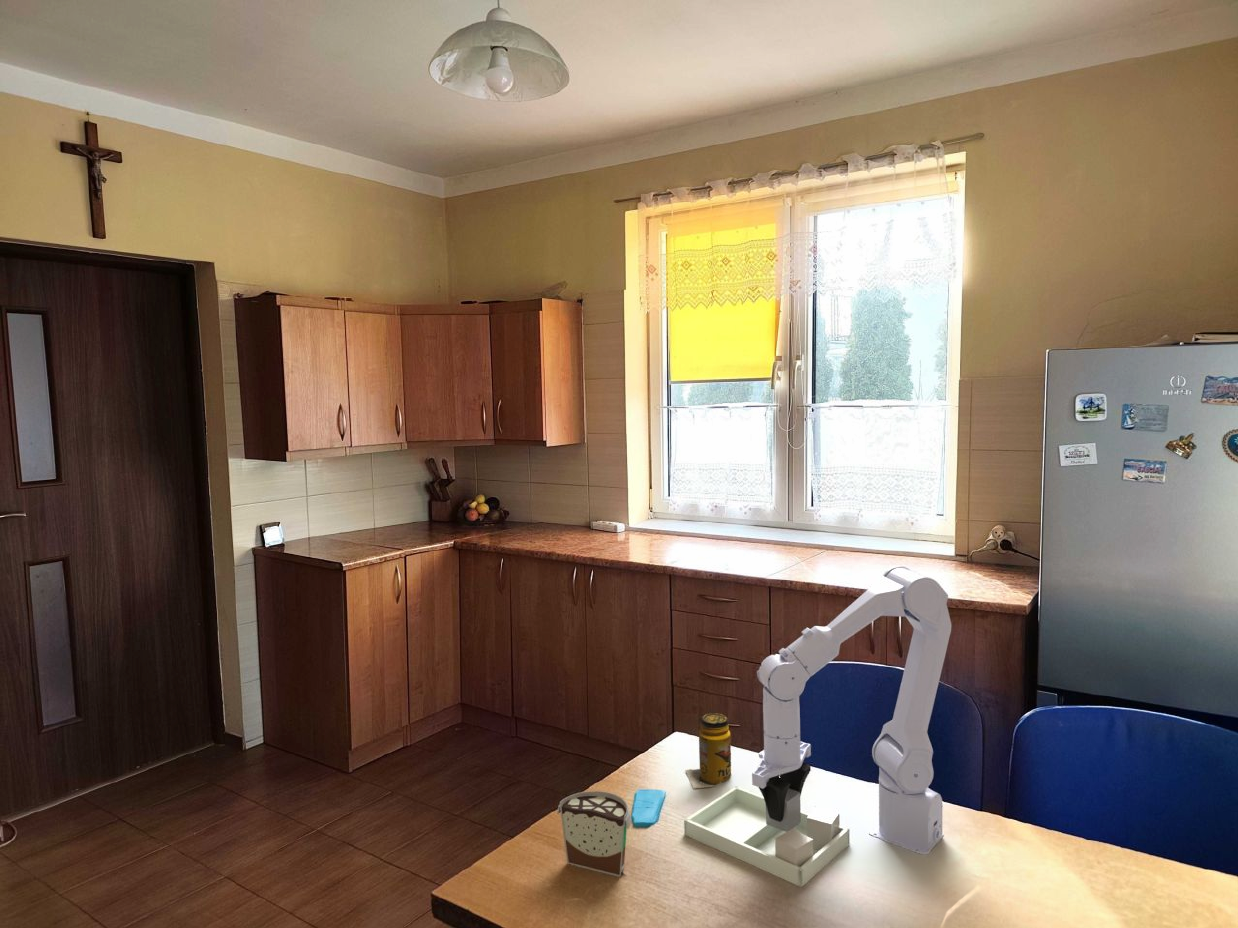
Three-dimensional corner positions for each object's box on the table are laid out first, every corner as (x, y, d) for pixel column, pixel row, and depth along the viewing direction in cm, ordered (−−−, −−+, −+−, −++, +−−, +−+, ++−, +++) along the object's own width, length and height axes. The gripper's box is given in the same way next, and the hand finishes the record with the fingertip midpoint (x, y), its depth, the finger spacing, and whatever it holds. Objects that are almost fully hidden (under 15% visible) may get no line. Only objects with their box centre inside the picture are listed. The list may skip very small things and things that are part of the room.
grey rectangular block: (800, 821, 128) (800, 792, 128) (787, 832, 125) (787, 802, 125) (779, 813, 131) (778, 784, 131) (766, 823, 128) (765, 794, 128)
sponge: (621, 821, 136) (654, 820, 135) (635, 788, 148) (666, 787, 147) (623, 830, 136) (656, 829, 135) (636, 796, 148) (667, 794, 147)
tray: (849, 846, 128) (849, 828, 128) (801, 889, 117) (801, 870, 117) (736, 802, 143) (736, 786, 143) (684, 837, 132) (684, 819, 132)
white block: (813, 870, 121) (812, 839, 121) (796, 881, 119) (796, 849, 118) (792, 859, 124) (791, 828, 124) (775, 869, 122) (775, 837, 121)
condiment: (737, 785, 149) (736, 723, 148) (693, 789, 148) (692, 727, 147) (727, 767, 157) (726, 708, 156) (685, 771, 156) (683, 712, 155)
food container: (645, 857, 127) (643, 797, 126) (629, 879, 121) (627, 816, 120) (577, 841, 132) (575, 783, 131) (559, 861, 126) (556, 801, 125)
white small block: (839, 842, 128) (839, 812, 128) (831, 854, 125) (831, 823, 125) (815, 835, 131) (815, 806, 130) (807, 847, 127) (806, 817, 127)
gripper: (784, 711, 135) (785, 788, 136) (734, 740, 124) (737, 823, 125) (821, 721, 130) (823, 801, 131) (773, 752, 119) (775, 838, 121)
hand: (783, 813), depth 128 cm, fingers closed on grey rectangular block, 4 cm apart
